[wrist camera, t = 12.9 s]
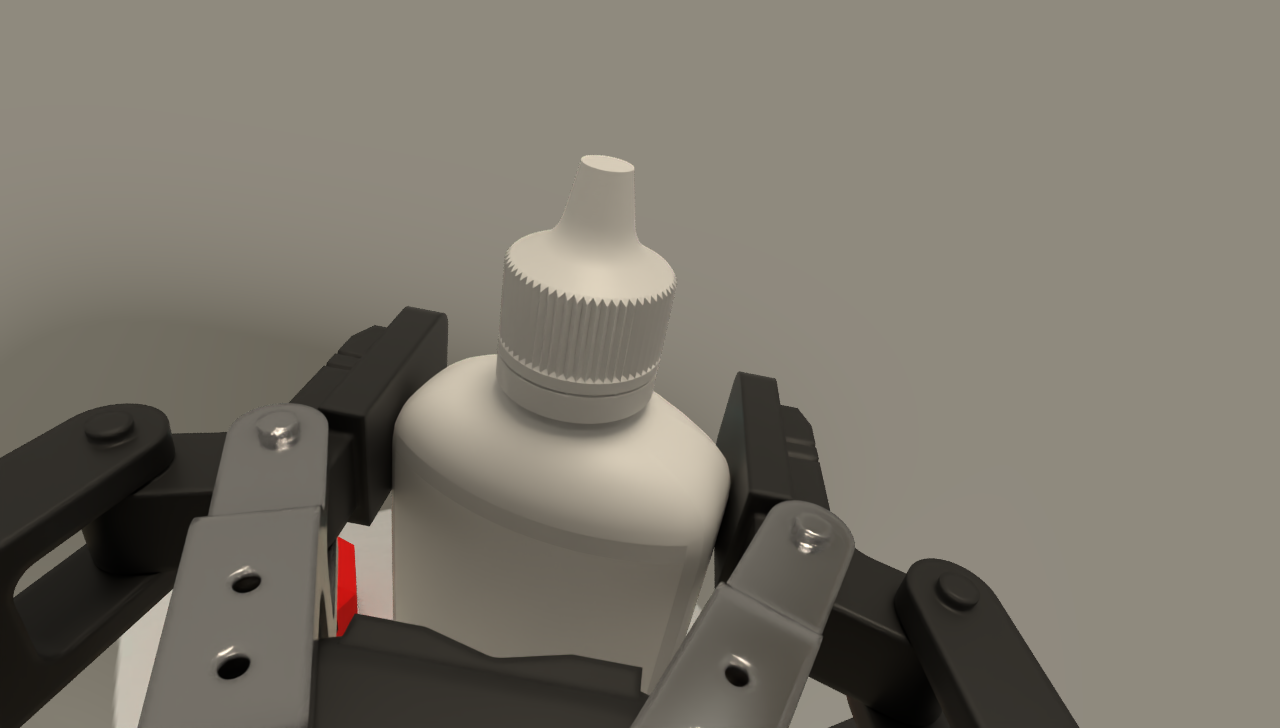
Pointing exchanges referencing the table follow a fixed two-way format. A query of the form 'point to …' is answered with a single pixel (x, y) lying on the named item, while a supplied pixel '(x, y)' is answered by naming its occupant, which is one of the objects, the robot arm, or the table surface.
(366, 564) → the table surface
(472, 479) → the eye dropper bottle
